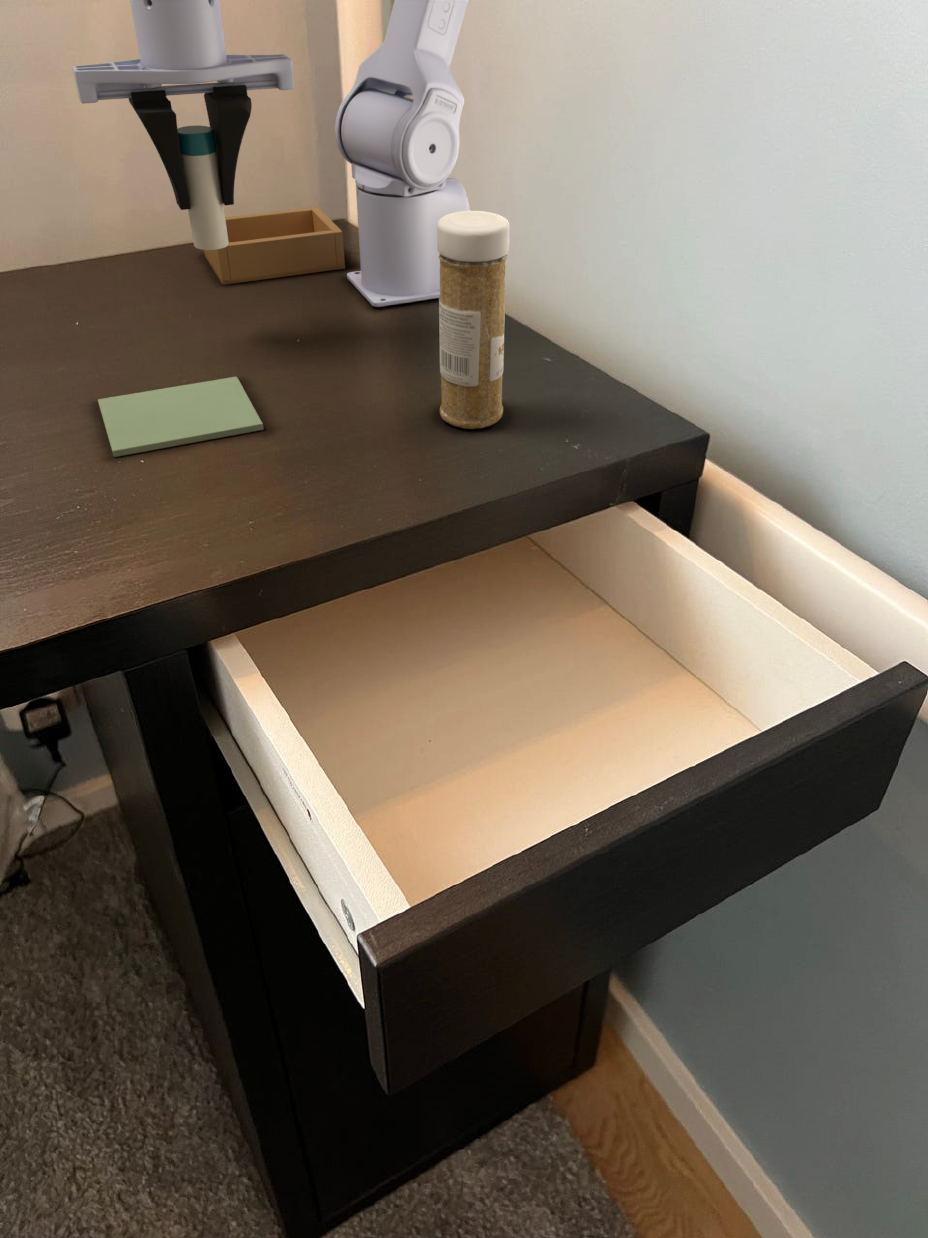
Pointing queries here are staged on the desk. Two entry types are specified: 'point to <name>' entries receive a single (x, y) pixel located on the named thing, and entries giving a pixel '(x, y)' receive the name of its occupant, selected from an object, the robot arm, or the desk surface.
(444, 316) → the spice jar
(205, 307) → the desk surface
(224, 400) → the mat
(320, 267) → the box
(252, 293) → the desk surface
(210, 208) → the white bottle teal cap
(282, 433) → the desk surface
